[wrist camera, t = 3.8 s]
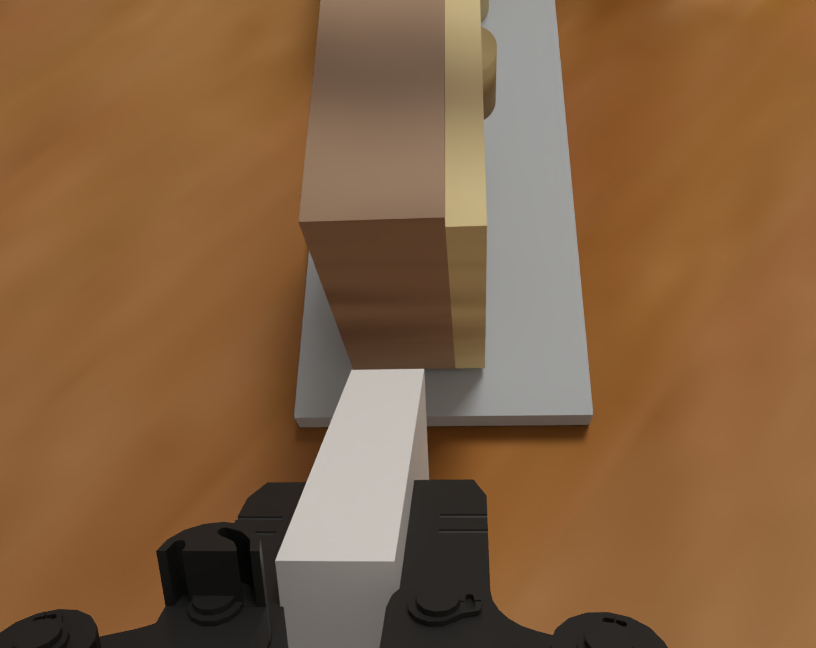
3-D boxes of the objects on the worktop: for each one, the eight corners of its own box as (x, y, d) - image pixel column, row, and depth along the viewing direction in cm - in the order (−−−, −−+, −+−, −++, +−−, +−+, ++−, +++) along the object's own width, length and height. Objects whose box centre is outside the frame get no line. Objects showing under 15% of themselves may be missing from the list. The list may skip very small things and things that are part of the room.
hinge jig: (589, 425, 26) (645, 275, 17) (300, 427, 27) (210, 286, 18) (540, -119, 39) (558, -365, 30) (345, -106, 40) (306, -343, 31)
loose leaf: (502, 367, 26) (513, 215, 18) (353, 370, 27) (298, 221, 19) (493, 125, 31) (498, -81, 23) (366, 130, 31) (327, -70, 23)
